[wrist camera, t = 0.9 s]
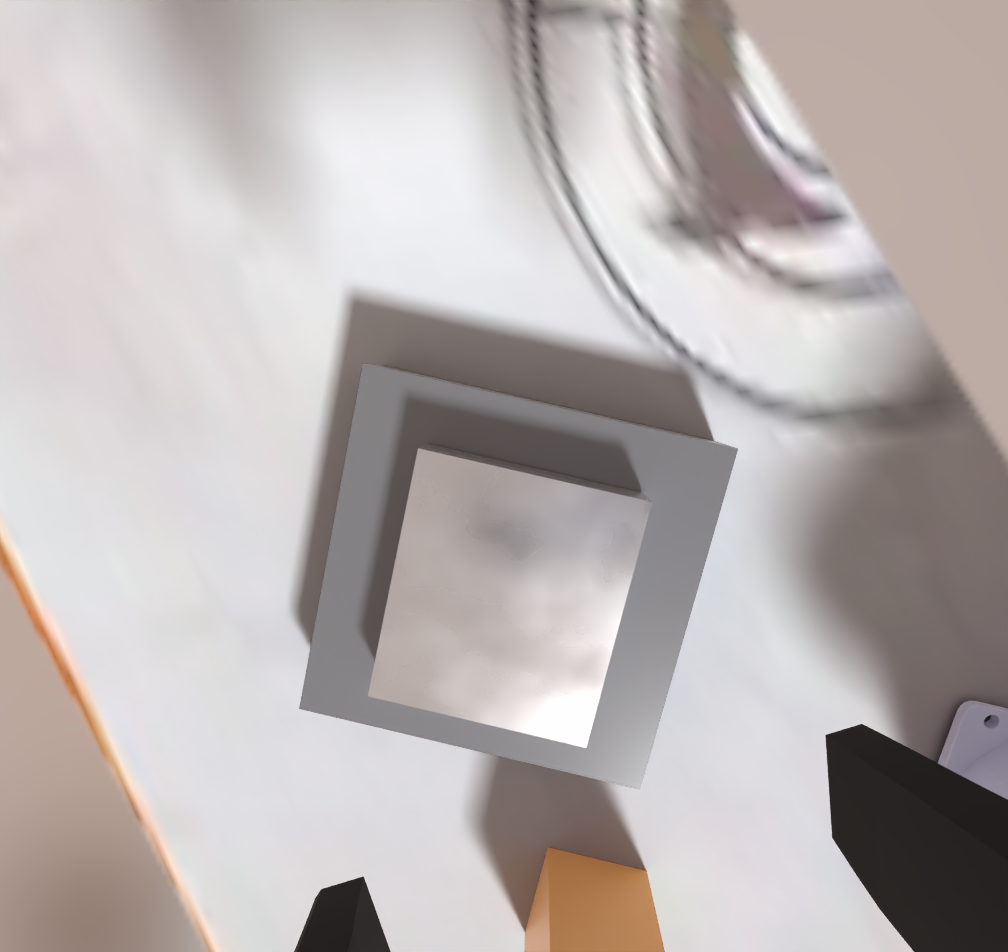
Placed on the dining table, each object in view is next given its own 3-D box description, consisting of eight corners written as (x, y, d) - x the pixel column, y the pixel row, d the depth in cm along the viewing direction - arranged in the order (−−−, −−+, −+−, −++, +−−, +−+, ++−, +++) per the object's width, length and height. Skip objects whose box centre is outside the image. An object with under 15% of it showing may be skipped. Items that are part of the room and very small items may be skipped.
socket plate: (714, 441, 21) (737, 448, 19) (628, 746, 23) (639, 789, 21) (382, 365, 22) (362, 363, 19) (323, 674, 24) (299, 708, 21)
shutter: (643, 492, 19) (652, 502, 18) (582, 721, 20) (585, 748, 19) (426, 443, 19) (418, 448, 18) (379, 673, 21) (367, 696, 19)
